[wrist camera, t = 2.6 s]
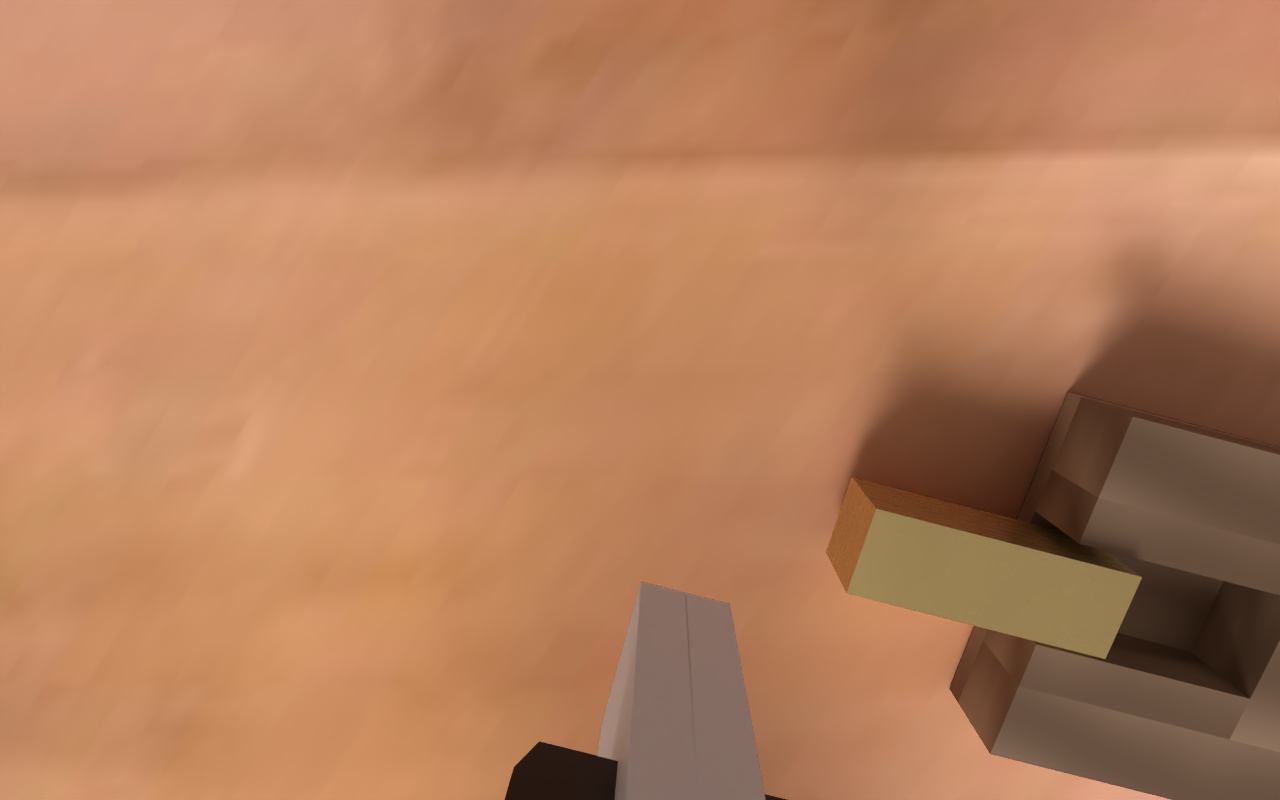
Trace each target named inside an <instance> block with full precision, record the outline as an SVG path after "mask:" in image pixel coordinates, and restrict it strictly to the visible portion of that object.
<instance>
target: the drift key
mask: <svg viewBox="0 0 1280 800" xmlns="http://www.w3.org/2000/svg"><path fill="white" fill-rule="evenodd" d="M826 553H827V555H828V557H829V559H830V561H831V563H832V565H833V567H834V569H835V571H836V573H837V575H838V577H839V579H840V581H841V583H842V585H843V587H844V589H845V591H846V593H848V594H852V595H856V596H859V597H863V598H867V599H871V600H875V601H879V602H883V603H887V604H891V605H895V606H899V607H903V608H907V609H911V610H914V611H918V612H922V613H926V614H930V615H934V616H938V617H942V618H946V619H950V620H954V621H958V622H962V623H966V624H969V625H973V626H977V627H981V628H985V629H989V630H993V631H997V632H1001V633H1005V634H1009V635H1013V636H1017V637H1021V638H1024V639H1028V640H1032V641H1036V642H1040V643H1044V644H1048V645H1052V646H1056V647H1060V648H1064V649H1068V650H1072V651H1076V652H1079V653H1083V654H1087V655H1091V656H1095V657H1099V658H1103V659H1106V657H1107V654H1108V652H1109V650H1110V648H1111V646H1112V643H1113V641H1114V639H1115V637H1116V634H1117V632H1118V630H1119V628H1120V626H1121V623H1122V621H1123V619H1124V617H1125V614H1126V612H1127V610H1128V608H1129V606H1130V603H1131V601H1132V599H1133V597H1134V594H1135V592H1136V590H1137V588H1138V585H1139V583H1140V581H1141V579H1142V577H1141V576H1140V575H1139V574H1137V573H1136V572H1134V571H1133V570H1132V569H1130V568H1129V567H1127V566H1126V565H1125V564H1123V563H1122V562H1120V561H1119V560H1118V559H1116V558H1115V557H1113V556H1112V555H1111V554H1109V553H1108V552H1106V551H1105V550H1101V549H1098V548H1094V547H1090V546H1086V545H1082V544H1079V543H1077V542H1076V541H1075V540H1073V539H1072V538H1071V537H1069V536H1068V535H1067V534H1065V533H1064V532H1063V531H1060V530H1056V529H1052V528H1048V527H1044V526H1040V525H1037V524H1033V523H1029V522H1025V521H1021V520H1017V519H1013V518H1009V517H1005V516H1002V515H998V514H994V513H990V512H986V511H982V510H978V509H974V508H971V507H967V506H963V505H959V504H955V503H951V502H947V501H943V500H939V499H936V498H932V497H928V496H924V495H920V494H916V493H912V492H908V491H904V490H901V489H897V488H893V487H889V486H885V485H881V484H877V483H873V482H870V481H866V480H862V479H858V478H854V477H852V478H851V480H850V483H849V486H848V489H847V492H846V495H845V498H844V501H843V504H842V507H841V510H840V513H839V516H838V519H837V522H836V525H835V528H834V531H833V534H832V537H831V540H830V542H829V545H828V548H827V551H826Z"/></svg>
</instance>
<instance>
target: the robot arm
mask: <svg viewBox="0 0 1280 800" xmlns="http://www.w3.org/2000/svg"><path fill="white" fill-rule="evenodd" d="M505 800H786V799H782V798H778V797H774V796H770V795H766V794H764V788H763V783H762V778H761V772H760V767H759V761H758V756H757V750H756V745H755V739H754V734H753V728H752V723H751V717H750V712H749V706H748V701H747V696H746V690H745V685H744V679H743V674H742V668H741V663H740V657H739V652H738V646H737V641H736V635H735V630H734V624H733V619H732V614H731V608H730V604H729V603H725V602H721V601H717V600H713V599H709V598H705V597H701V596H697V595H693V594H689V593H685V592H681V591H677V590H673V589H669V588H665V587H661V586H657V585H653V584H649V583H645V582H641V584H640V587H639V591H638V595H637V598H636V602H635V605H634V609H633V613H632V616H631V620H630V623H629V627H628V631H627V634H626V638H625V641H624V645H623V649H622V652H621V656H620V659H619V663H618V667H617V670H616V674H615V677H614V681H613V685H612V688H611V692H610V695H609V699H608V703H607V706H606V710H605V713H604V717H603V721H602V724H601V732H600V740H599V747H598V755H597V756H596V755H592V754H588V753H584V752H580V751H575V750H571V749H567V748H563V747H559V746H555V745H551V744H547V743H543V742H538V743H537V744H536V745H535V746H534V747H533V748H532V749H531V751H530V752H529V753H528V754H527V755H526V756H525V757H524V758H523V759H522V760H521V761H520V762H519V763H518V764H517V765H516V766H515V767H514V769H513V773H512V776H511V780H510V783H509V787H508V790H507V794H506V797H505Z"/></svg>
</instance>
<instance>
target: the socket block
mask: <svg viewBox="0 0 1280 800" xmlns="http://www.w3.org/2000/svg"><path fill="white" fill-rule="evenodd" d="M1017 520H1021V521H1025V522H1029V523H1033V524H1037V525H1040V526H1044V527H1048V528H1052V529H1056V530H1060V531H1063V532H1064V533H1065V534H1067V535H1068V536H1069V537H1071V538H1072V539H1073V540H1075V541H1076V542H1077V543H1079V544H1082V545H1086V546H1090V547H1094V548H1098V549H1101V550H1105V551H1106V552H1108V553H1109V554H1111V555H1112V556H1113V557H1115V558H1116V559H1118V560H1119V561H1120V562H1122V563H1123V564H1125V565H1126V566H1127V567H1129V568H1130V569H1132V570H1133V571H1134V572H1136V573H1137V574H1139V575H1140V576H1141V577H1142V579H1141V581H1140V583H1139V585H1138V588H1137V590H1136V592H1135V594H1134V597H1133V599H1132V601H1131V603H1130V606H1129V608H1128V610H1127V612H1126V614H1125V617H1124V619H1123V621H1122V623H1121V626H1120V628H1119V630H1118V632H1117V634H1116V637H1115V639H1114V641H1113V643H1112V646H1111V648H1110V650H1109V652H1108V654H1107V657H1106V659H1103V658H1099V657H1095V656H1091V655H1087V654H1083V653H1079V652H1076V651H1072V650H1068V649H1064V648H1060V647H1056V646H1052V645H1048V644H1044V643H1040V642H1036V641H1032V640H1028V639H1024V638H1021V637H1017V636H1013V635H1009V634H1005V633H1001V632H997V631H993V630H989V629H985V628H981V627H977V626H974V628H973V631H972V633H971V636H970V639H969V641H968V644H967V646H966V649H965V651H964V654H963V656H962V659H961V661H960V664H959V666H958V669H957V671H956V674H955V676H954V679H953V681H952V684H951V686H950V690H951V692H952V693H953V695H954V697H955V698H956V700H957V701H958V703H959V705H960V706H961V708H962V709H963V711H964V713H965V714H966V716H967V717H968V719H969V721H970V722H971V724H972V725H973V727H974V729H975V730H976V732H977V733H978V735H979V737H980V738H981V740H982V741H983V743H984V745H985V746H986V748H987V749H988V751H989V753H990V754H993V755H997V756H1001V757H1005V758H1009V759H1013V760H1017V761H1021V762H1025V763H1028V764H1032V765H1036V766H1040V767H1044V768H1048V769H1052V770H1056V771H1060V772H1064V773H1068V774H1072V775H1076V776H1080V777H1084V778H1088V779H1092V780H1096V781H1100V782H1104V783H1108V784H1112V785H1116V786H1120V787H1124V788H1128V789H1132V790H1136V791H1140V792H1144V793H1148V794H1152V795H1156V796H1160V797H1164V798H1168V799H1172V800H1280V447H1277V446H1274V445H1270V444H1266V443H1262V442H1258V441H1254V440H1251V439H1247V438H1243V437H1239V436H1235V435H1231V434H1228V433H1224V432H1220V431H1216V430H1212V429H1208V428H1205V427H1201V426H1197V425H1193V424H1189V423H1185V422H1182V421H1178V420H1174V419H1170V418H1166V417H1162V416H1159V415H1155V414H1151V413H1147V412H1143V411H1139V410H1136V409H1132V408H1128V407H1124V406H1120V405H1116V404H1113V403H1109V402H1105V401H1101V400H1097V399H1093V398H1090V397H1086V396H1082V395H1078V394H1074V393H1070V392H1068V393H1067V395H1066V398H1065V400H1064V403H1063V405H1062V408H1061V410H1060V413H1059V415H1058V418H1057V420H1056V423H1055V425H1054V428H1053V430H1052V433H1051V435H1050V438H1049V440H1048V443H1047V445H1046V448H1045V450H1044V453H1043V455H1042V458H1041V460H1040V463H1039V465H1038V468H1037V470H1036V473H1035V475H1034V478H1033V481H1032V483H1031V486H1030V488H1029V491H1028V493H1027V496H1026V498H1025V501H1024V503H1023V506H1022V508H1021V511H1020V513H1019V516H1018V518H1017Z"/></svg>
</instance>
